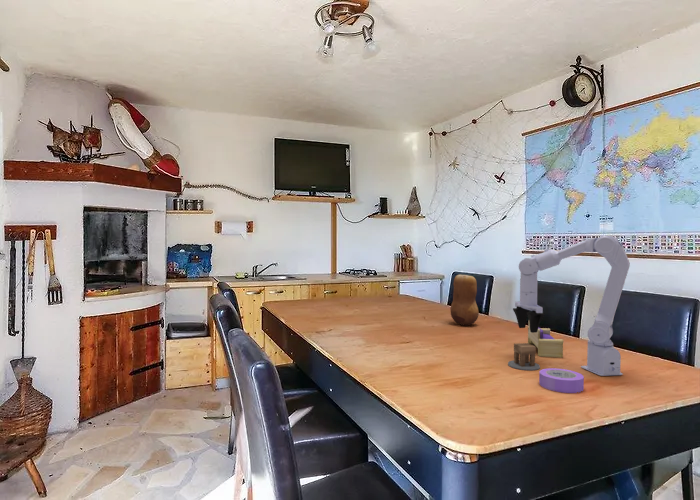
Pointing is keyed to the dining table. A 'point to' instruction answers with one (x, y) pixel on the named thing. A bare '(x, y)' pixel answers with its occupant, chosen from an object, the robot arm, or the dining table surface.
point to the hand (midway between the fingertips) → (527, 330)
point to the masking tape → (561, 380)
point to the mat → (527, 367)
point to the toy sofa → (545, 343)
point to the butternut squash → (464, 300)
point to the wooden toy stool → (524, 354)
